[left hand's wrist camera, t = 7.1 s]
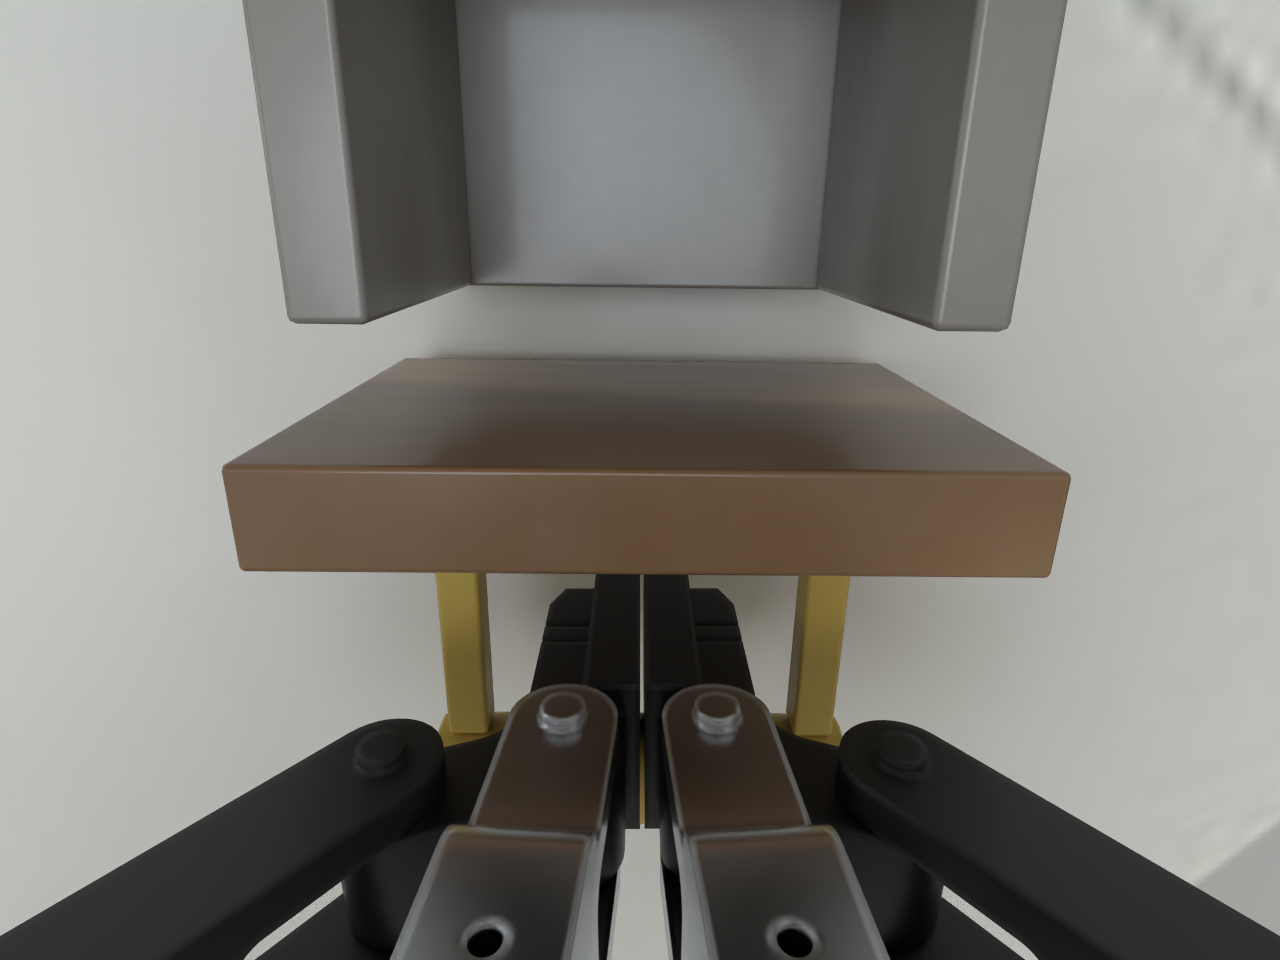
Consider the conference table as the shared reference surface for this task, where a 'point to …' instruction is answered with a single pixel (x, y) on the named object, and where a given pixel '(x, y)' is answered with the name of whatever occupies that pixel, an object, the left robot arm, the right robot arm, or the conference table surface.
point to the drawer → (649, 257)
